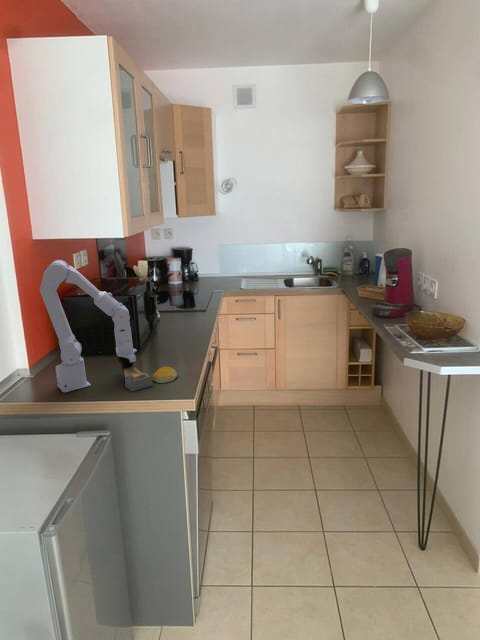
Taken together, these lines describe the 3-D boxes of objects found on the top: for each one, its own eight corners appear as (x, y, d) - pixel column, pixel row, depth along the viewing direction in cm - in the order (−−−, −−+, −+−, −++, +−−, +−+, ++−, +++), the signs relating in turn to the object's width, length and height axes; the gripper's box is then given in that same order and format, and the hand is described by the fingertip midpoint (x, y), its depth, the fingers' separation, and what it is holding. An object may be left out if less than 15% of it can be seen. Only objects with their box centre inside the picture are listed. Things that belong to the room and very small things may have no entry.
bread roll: (149, 383, 165) (148, 372, 164) (159, 374, 174) (158, 364, 173) (171, 384, 163) (170, 373, 162) (180, 375, 172) (179, 364, 171)
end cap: (131, 391, 158) (130, 381, 157) (125, 386, 163) (124, 377, 162) (152, 385, 162) (151, 376, 161) (145, 381, 167) (144, 372, 166)
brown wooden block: (136, 389, 160) (134, 376, 159) (125, 380, 168) (123, 368, 167) (145, 386, 162) (144, 374, 161) (134, 378, 170) (133, 366, 169)
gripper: (142, 342, 163) (146, 378, 166) (127, 333, 175) (131, 367, 178) (122, 346, 159) (127, 383, 163) (108, 337, 171) (113, 372, 174)
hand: (128, 375), depth 170 cm, fingers closed
